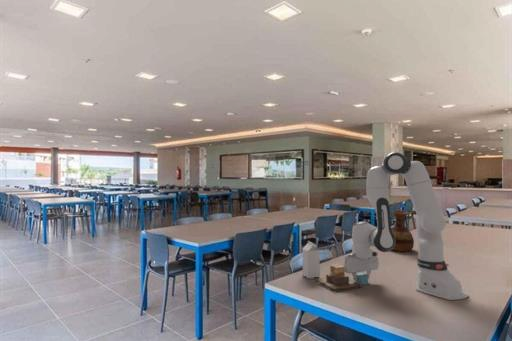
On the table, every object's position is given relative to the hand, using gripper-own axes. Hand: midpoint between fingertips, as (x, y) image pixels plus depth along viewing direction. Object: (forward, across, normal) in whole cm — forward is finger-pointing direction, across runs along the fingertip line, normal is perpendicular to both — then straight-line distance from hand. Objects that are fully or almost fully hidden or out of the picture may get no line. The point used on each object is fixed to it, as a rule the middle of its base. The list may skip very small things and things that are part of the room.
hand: (361, 279), depth 165 cm
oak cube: (-3, -13, +3) cm, 14 cm away
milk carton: (+2, -18, +20) cm, 27 cm away
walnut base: (+2, -13, +3) cm, 13 cm away
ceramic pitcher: (+2, +80, +50) cm, 94 cm away
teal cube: (+2, 0, 0) cm, 2 cm away
